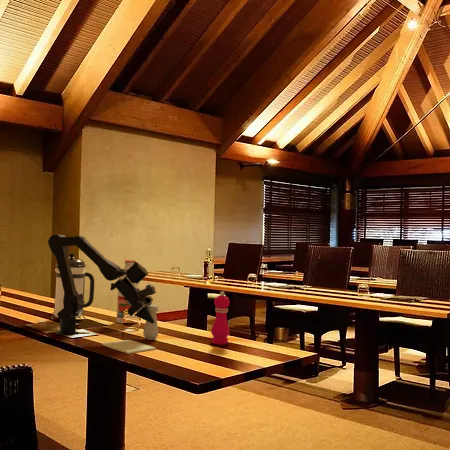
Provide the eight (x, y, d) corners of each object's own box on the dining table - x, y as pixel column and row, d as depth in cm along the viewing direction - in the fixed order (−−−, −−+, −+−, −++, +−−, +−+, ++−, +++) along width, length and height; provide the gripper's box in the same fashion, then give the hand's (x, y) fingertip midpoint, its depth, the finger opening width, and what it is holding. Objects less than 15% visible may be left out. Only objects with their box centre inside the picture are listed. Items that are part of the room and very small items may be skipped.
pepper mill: (232, 342, 212) (234, 291, 212) (224, 345, 205) (227, 293, 205) (215, 340, 215) (218, 289, 215) (207, 343, 208) (210, 291, 208)
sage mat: (102, 344, 196) (102, 343, 196) (129, 341, 204) (129, 339, 204) (128, 353, 185) (128, 352, 185) (155, 349, 193) (155, 347, 193)
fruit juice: (135, 320, 249) (139, 259, 249) (138, 324, 240) (142, 261, 240) (115, 320, 246) (118, 259, 246) (117, 324, 237) (120, 260, 237)
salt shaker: (139, 337, 210) (142, 304, 210) (152, 336, 214) (154, 303, 214) (147, 340, 206) (150, 306, 206) (160, 339, 209) (162, 306, 210)
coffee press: (82, 324, 234) (86, 254, 234) (45, 321, 234) (49, 252, 234) (92, 317, 251) (96, 252, 251) (58, 315, 251) (62, 251, 252)
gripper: (138, 280, 201) (165, 312, 200) (149, 276, 220) (174, 305, 218) (116, 299, 202) (143, 331, 201) (129, 293, 220) (154, 323, 219)
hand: (154, 322), depth 210 cm, fingers closed on salt shaker, 3 cm apart
